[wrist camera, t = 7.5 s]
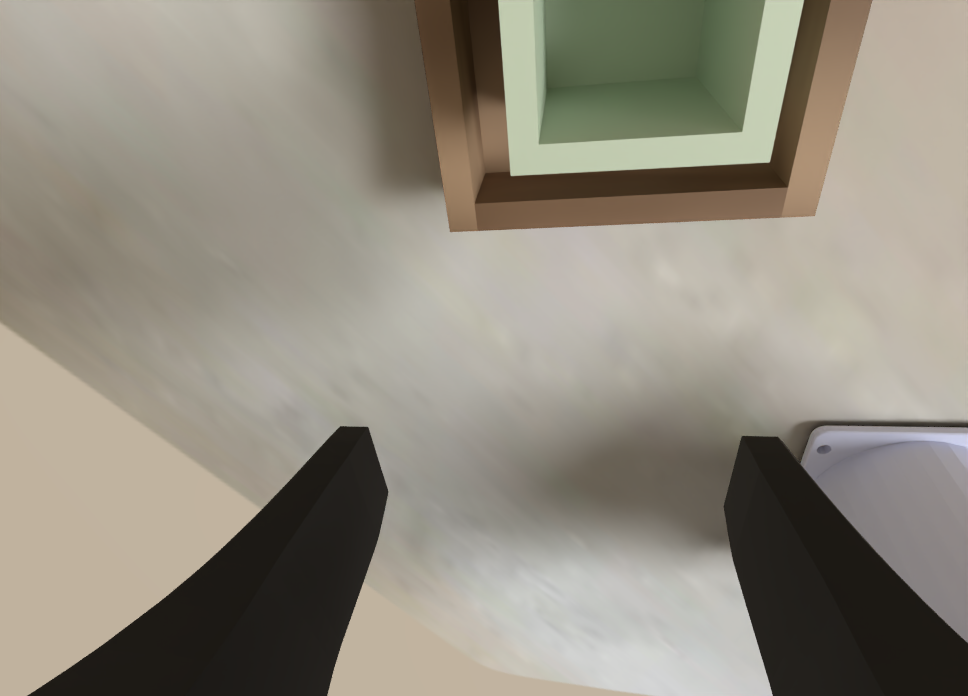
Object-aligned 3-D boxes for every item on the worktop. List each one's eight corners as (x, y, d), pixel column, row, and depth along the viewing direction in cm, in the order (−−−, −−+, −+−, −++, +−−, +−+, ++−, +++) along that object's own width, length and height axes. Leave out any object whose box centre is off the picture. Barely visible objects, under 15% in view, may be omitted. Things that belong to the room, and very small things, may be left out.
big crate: (779, 174, 16) (814, 216, 14) (466, 192, 18) (450, 231, 16) (884, -307, 11) (971, -373, 8) (413, -220, 12) (374, -255, 10)
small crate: (712, 94, 15) (769, 161, 11) (527, 107, 16) (510, 176, 11) (747, -154, 12) (847, -201, 8) (516, -121, 13) (487, -148, 8)
